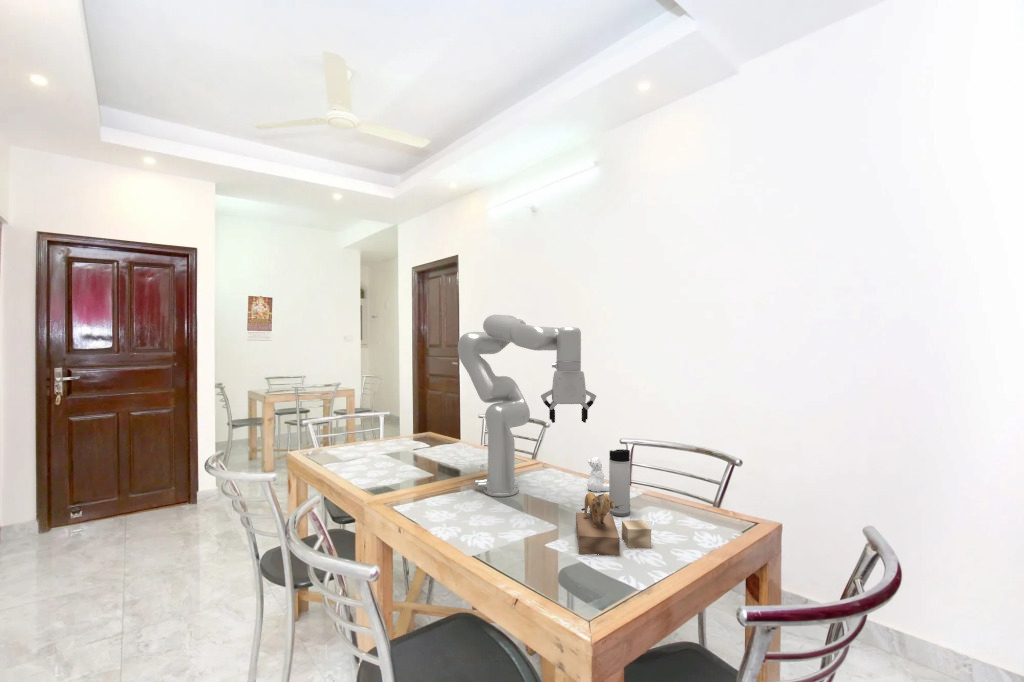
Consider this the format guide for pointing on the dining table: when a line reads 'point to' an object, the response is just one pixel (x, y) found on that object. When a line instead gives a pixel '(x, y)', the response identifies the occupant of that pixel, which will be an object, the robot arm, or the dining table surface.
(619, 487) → the travel mug
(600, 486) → the seated beast figurine
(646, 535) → the oak block
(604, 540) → the walnut block
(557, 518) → the dining table surface
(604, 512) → the lion figurine
